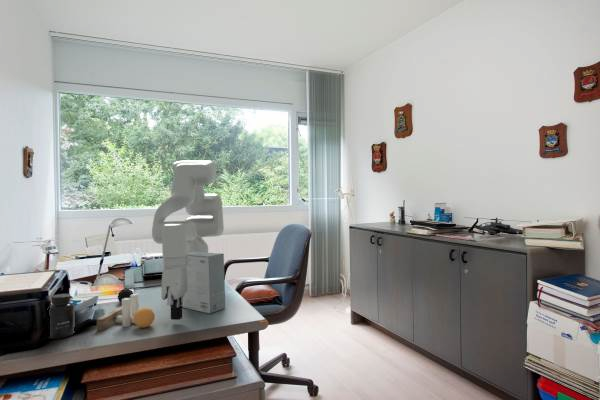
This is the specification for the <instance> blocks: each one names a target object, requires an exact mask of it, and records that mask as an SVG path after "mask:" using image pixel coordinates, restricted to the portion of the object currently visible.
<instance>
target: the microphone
mask: <svg viewBox="0 0 600 400" xmlns="http://www.w3.org/2000/svg"><path fill="white" fill-rule="evenodd" d="M132 294H134V292H133V291H132V290H131V289H129V288H123V289H121V290H120V291H119V292H118V295H117V300H118V302H120V303H121V304H122V299H124V298H130V295H132Z"/></svg>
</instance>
